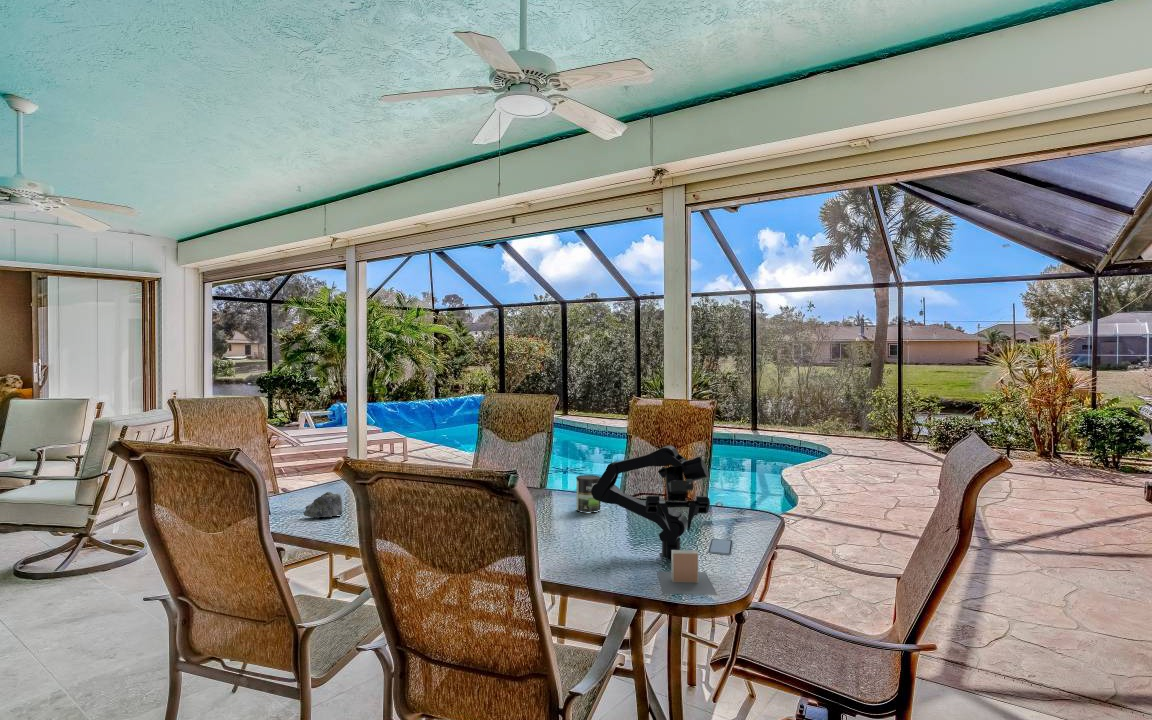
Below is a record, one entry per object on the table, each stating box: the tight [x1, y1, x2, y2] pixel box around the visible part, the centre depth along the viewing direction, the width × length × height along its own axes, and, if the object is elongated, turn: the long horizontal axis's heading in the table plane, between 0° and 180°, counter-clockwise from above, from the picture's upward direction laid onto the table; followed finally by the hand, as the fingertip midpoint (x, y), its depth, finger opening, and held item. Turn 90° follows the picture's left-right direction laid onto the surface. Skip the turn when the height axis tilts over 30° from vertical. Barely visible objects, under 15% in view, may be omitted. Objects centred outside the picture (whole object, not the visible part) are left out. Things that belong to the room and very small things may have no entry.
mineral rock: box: [303, 491, 344, 518], centre depth 230 cm, size 13×11×10 cm
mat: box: [656, 570, 718, 596], centre depth 158 cm, size 16×14×1 cm
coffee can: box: [575, 474, 601, 512], centre depth 242 cm, size 10×10×14 cm
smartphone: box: [707, 538, 734, 556], centre depth 192 cm, size 7×1×15 cm
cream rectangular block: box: [670, 549, 699, 583], centre depth 159 cm, size 3×7×8 cm, turn 88°
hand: (679, 529), depth 168 cm, fingers open, 5 cm apart
